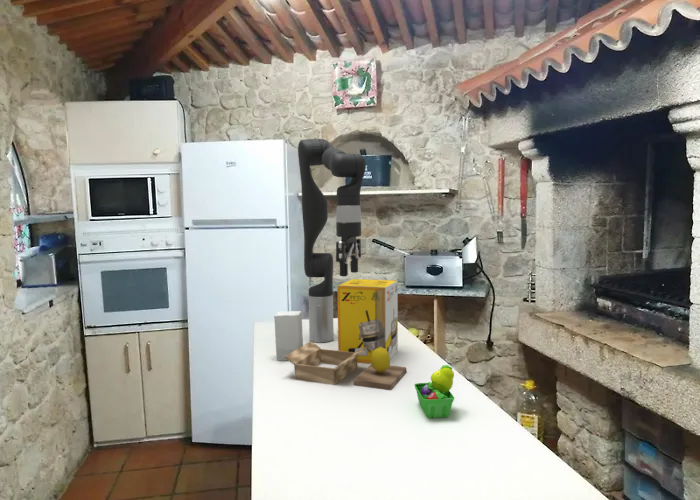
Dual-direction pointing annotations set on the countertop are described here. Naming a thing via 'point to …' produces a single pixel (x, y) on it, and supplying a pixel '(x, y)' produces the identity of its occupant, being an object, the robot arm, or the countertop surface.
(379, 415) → the countertop surface
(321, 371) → the carton
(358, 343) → the packaging box
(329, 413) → the countertop surface
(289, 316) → the skincare box
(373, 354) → the lemon
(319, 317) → the robot arm
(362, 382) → the walnut board
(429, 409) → the fruit basket
